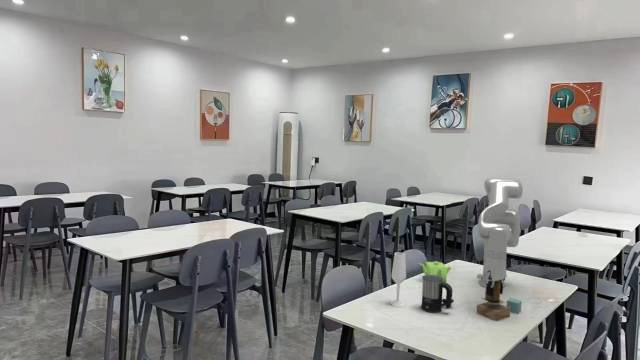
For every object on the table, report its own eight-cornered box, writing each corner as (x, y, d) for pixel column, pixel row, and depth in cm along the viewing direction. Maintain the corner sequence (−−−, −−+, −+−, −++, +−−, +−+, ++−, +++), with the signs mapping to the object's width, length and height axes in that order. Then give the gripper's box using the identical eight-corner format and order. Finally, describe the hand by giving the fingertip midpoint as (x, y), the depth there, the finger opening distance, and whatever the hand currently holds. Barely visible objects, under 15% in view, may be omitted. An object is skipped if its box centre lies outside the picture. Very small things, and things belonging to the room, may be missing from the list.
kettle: (440, 287, 233) (441, 267, 232) (416, 281, 243) (417, 261, 242) (453, 282, 244) (454, 262, 243) (430, 276, 253) (431, 257, 253)
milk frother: (419, 310, 199) (420, 278, 198) (423, 299, 214) (425, 269, 213) (451, 316, 194) (454, 283, 193) (454, 304, 209) (456, 273, 208)
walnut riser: (476, 313, 198) (477, 304, 198) (489, 309, 204) (490, 300, 204) (496, 321, 190) (497, 312, 190) (509, 316, 196) (510, 307, 196)
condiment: (492, 296, 202) (493, 271, 201) (507, 303, 194) (508, 276, 193) (480, 298, 199) (481, 272, 198) (494, 305, 191) (496, 277, 190)
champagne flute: (387, 303, 207) (389, 253, 205) (395, 300, 212) (397, 251, 210) (399, 307, 202) (402, 256, 200) (407, 304, 207) (410, 253, 205)
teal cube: (506, 311, 203) (507, 300, 202) (509, 308, 206) (510, 297, 206) (517, 314, 199) (518, 303, 199) (520, 311, 203) (521, 300, 203)
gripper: (500, 250, 203) (498, 288, 204) (477, 254, 193) (475, 295, 194) (516, 254, 197) (513, 293, 198) (493, 258, 187) (490, 300, 188)
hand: (494, 293), depth 196 cm, fingers closed on condiment, 6 cm apart
